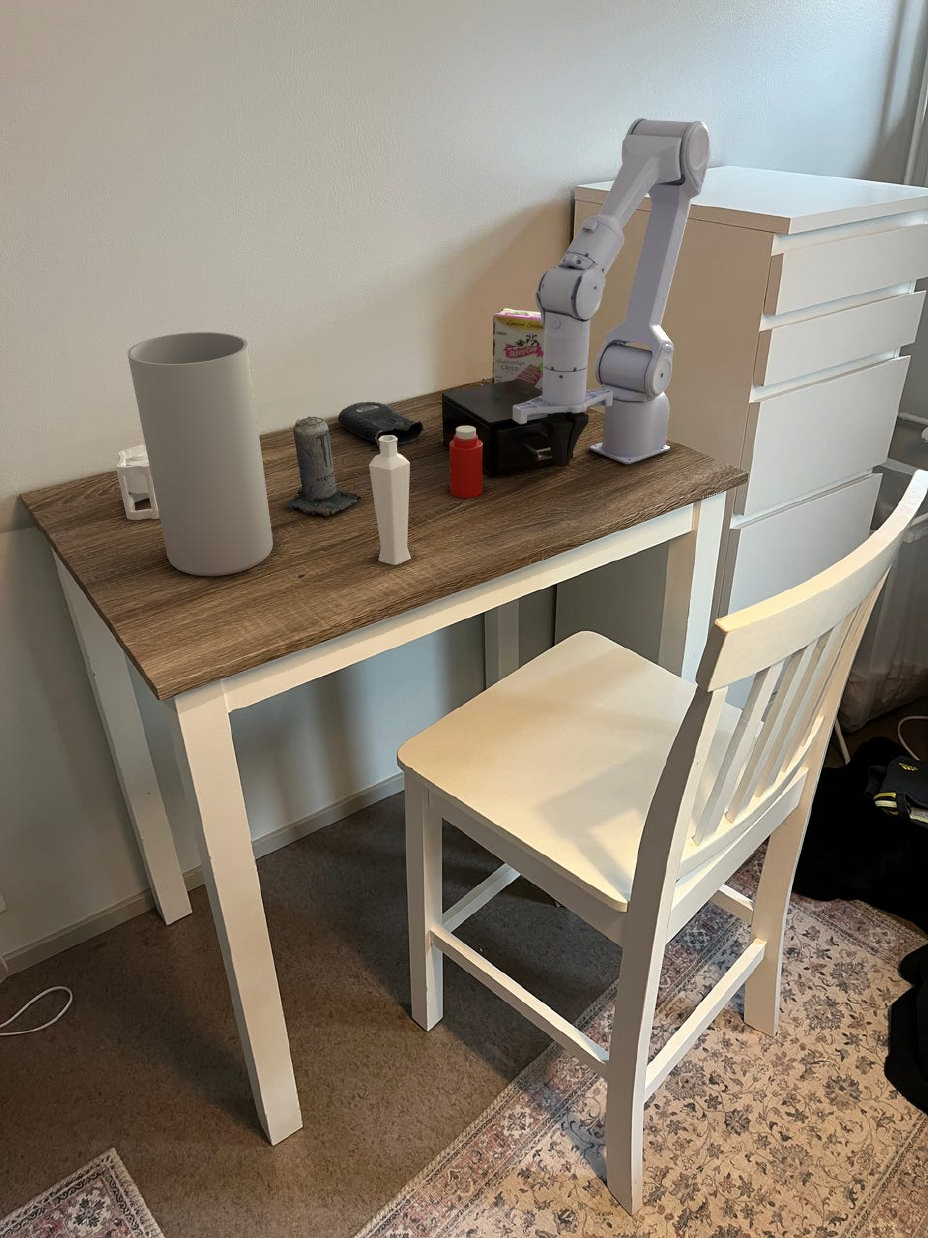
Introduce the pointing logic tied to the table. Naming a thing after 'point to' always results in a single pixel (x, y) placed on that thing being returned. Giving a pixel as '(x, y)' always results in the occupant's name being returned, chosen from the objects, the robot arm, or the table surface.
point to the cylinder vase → (203, 450)
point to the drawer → (520, 446)
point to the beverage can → (317, 470)
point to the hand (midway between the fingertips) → (560, 464)
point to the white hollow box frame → (136, 482)
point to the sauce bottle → (465, 463)
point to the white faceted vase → (391, 500)
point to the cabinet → (484, 413)
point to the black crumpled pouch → (379, 422)
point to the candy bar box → (518, 347)
